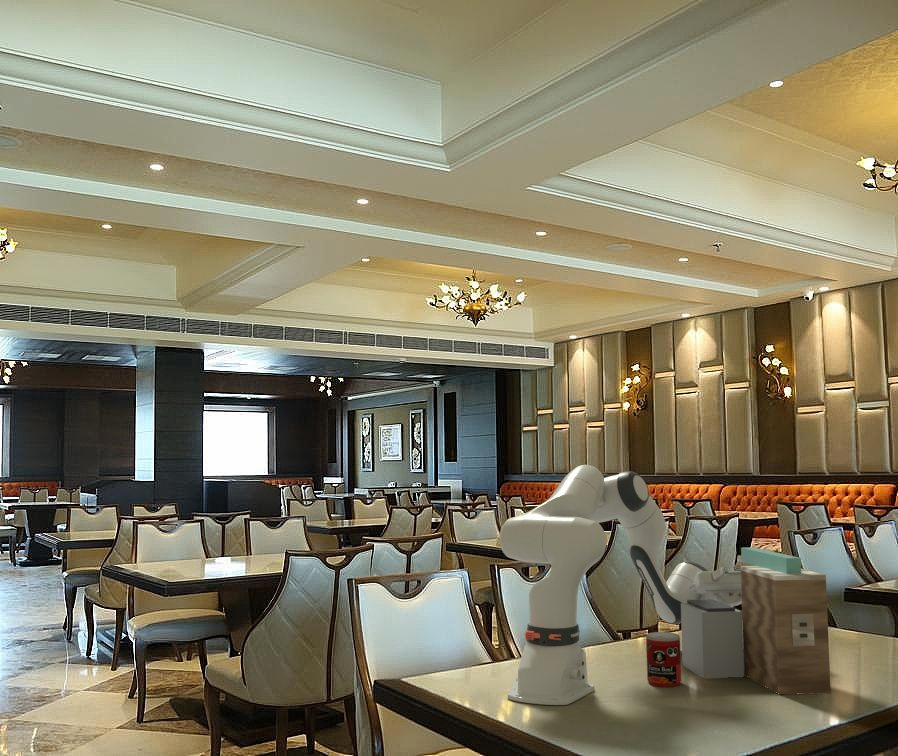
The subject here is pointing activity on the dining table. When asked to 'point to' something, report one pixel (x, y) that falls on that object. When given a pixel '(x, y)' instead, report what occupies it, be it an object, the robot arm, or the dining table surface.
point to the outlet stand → (785, 630)
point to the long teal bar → (771, 560)
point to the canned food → (663, 659)
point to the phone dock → (712, 639)
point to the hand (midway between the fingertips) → (742, 569)
